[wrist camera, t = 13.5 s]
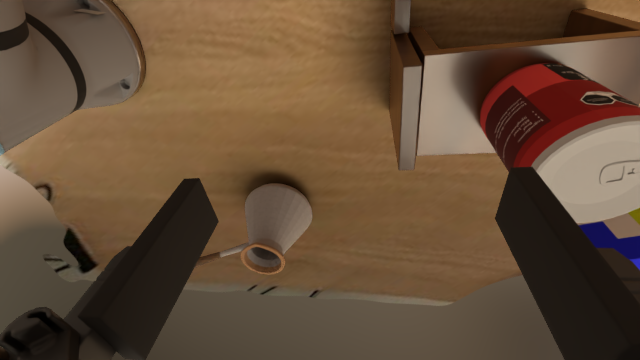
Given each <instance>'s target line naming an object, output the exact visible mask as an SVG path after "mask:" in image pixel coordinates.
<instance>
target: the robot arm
mask: <svg viewBox="0 0 640 360" xmlns="http://www.w3.org/2000/svg"><path fill="white" fill-rule="evenodd" d="M145 71H146V65H145V57H144V53H143V49H142V46H141V44H140V41H139V39H138V37H137V35H136V33H135V31H134V29H133V27H132V26H131V24H130V23H129V21H128V20H127V19H126V17H125V16H124V15H123V14H122V12H121V11H120V10H119V9H118V8H117V7H116V6H115V5H114V4H113V3H112V2H111V1H110V0H0V156H1V155H2V154H3V153H4V152H6V151H8V150H9V149H11V148H13V147H15V146H16V145H18V144H20V143H21V142H23V141H25V140H26V139H28V138H30V137H32V136H33V135H35V134H37V133H38V132H40V131H42V130H44V129H45V128H47V127H49V126H50V125H52V124H54V123H55V122H57V121H59V120H61V119H62V118H64V117H66V116H67V115H69V114H71V113H73V112H74V111H76V110H79V109H87V108H95V107H102V106H110V105H115V104H118V103H121V102H123V101H125V100H127V99H128V98H130V97H132V96H133V95H134V94H136V93H137V92H138V91H139V89H140V88H141V86H142V84H143V81H144V78H145ZM495 220H496V222H497V224H498V226H499V228H500V230H501V232H502V234H503V236H504V238H505V240H506V242H507V244H508V246H509V248H510V250H511V252H512V254H513V256H514V258H515V260H516V262H517V264H518V266H519V268H520V270H521V272H522V274H523V276H524V278H525V280H526V282H527V284H528V286H529V289H530V290H531V292H532V295H533V297H534V299H535V300H536V303H537V305H538V307H539V309H540V311H541V313H542V315H543V317H544V319H545V321H546V323H547V325H548V327H549V329H550V331H551V333H552V335H553V337H554V339H555V341H556V343H557V345H558V347H559V349H560V351H561V353H562V355H563V357H564V359H565V360H640V270H639V269H638V268H637V267H636V265H635V264H634V263H633V262H632V261H630V260H629V259H628V258H626V257H625V256H623V255H622V254H621V253H619V252H618V251H616V250H615V249H613V248H596V247H595V246H594V245H593V243H592V242H591V241H590V240H589V238H588V237H587V236H586V234H585V233H584V232H583V231H582V229H581V228H580V227H579V226H578V224H577V223H576V222H575V220H574V219H573V218H572V217H571V215H570V214H569V213H568V211H567V210H566V209H565V208H564V206H563V205H562V204H561V203H560V201H559V200H558V199H557V197H556V196H555V195H554V194H553V192H552V191H551V190H550V188H549V187H548V186H547V185H546V183H545V182H544V181H543V180H542V178H541V177H540V176H539V174H538V173H537V172H536V171H535V169H534V168H533V167H511V168H510V171H509V175H508V178H507V181H506V184H505V188H504V191H503V194H502V197H501V201H500V204H499V207H498V210H497V214H496V217H495ZM218 222H219V221H218V219H217V217H216V214H215V212H214V210H213V208H212V205H211V203H210V201H209V199H208V196H207V194H206V192H205V190H204V188H203V185H202V183H201V181H200V179H199V178H193V179H184V180H183V181H182V182H181V183H180V185H179V186H178V187H177V189H176V190H175V191H174V192H173V194H172V195H171V196H170V198H169V199H168V200H167V201H166V203H165V204H164V205H163V207H162V208H161V209H160V210H159V212H158V213H157V214H156V216H155V217H154V218H153V219H152V221H151V222H150V223H149V225H148V226H147V227H146V229H145V230H144V231H143V232H142V234H141V235H140V236H139V238H138V239H137V240H136V241H135V243H134V244H133V245H132V246H127V247H126V248H124V249H123V250H122V251H121V252H119V253H118V254H117V255H116V256H114V258H113V259H112V260H111V261H110V262H109V264H108V265H107V266H106V267H105V270H104V271H102V272H101V274H100V275H99V276H98V277H97V280H96V281H94V282H93V284H92V285H91V286H90V287H89V289H88V290H87V291H86V292H85V293H84V295H83V296H82V297H81V299H80V300H79V301H78V302H77V303H76V305H75V306H74V307H73V308H72V310H71V311H70V312H69V314H68V315H67V316H66V317H65V318H64V319H62V318H60V317H59V316H58V315H57V314H56V313H55V312H53V311H52V310H51V309H49V308H47V307H39V308H36V309H33V310H30V311H28V312H26V313H24V314H23V315H21V316H19V317H18V318H16V319H15V320H14V321H13V322H12V323H11V324H9V325H8V326H7V327H6V329H5V330H4V331H3V332H2V333H1V334H0V346H1V347H0V360H111V359H112V357H113V355H114V354H115V352H116V351H117V352H118V353H119V354H120V355H121V356H122V357H124V358H125V359H132V360H146V358H147V356H148V354H149V352H150V350H151V348H152V347H153V345H154V343H155V341H156V339H157V337H158V335H159V333H160V331H161V329H162V327H163V326H164V324H165V322H166V320H167V318H168V316H169V314H170V312H171V311H172V308H173V307H174V305H175V303H176V301H177V299H178V297H179V295H180V293H181V292H182V290H183V288H184V286H185V284H186V282H187V280H188V278H189V276H190V275H191V273H192V271H193V269H194V267H195V265H196V263H197V261H198V259H199V258H200V256H201V254H202V252H203V250H204V248H205V246H206V244H207V242H208V240H209V239H210V237H211V235H212V233H213V231H214V229H215V227H216V225H217V223H218ZM2 347H3V348H2Z"/></svg>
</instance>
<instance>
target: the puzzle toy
mask: <svg viewBox="0 0 640 360" xmlns="http://www.w3.org/2000/svg"><path fill="white" fill-rule="evenodd" d="M577 224H578V226H579V227H580V228H581V229H582V231H583V232H584V233H585V234H586V236H587V237H588V238H589V240H590V241H591V242H592V243H593V245H594V246H595V247H596V248H613V249H615V250H616V251H618V252H619V253H621V254H622V255H623V256H625V257H626V258H628V259H629V260H630V261H632V262H633V263H634V264H635V265H636V267H637V268H638V269H639V270H640V208H637V209H635V210H633V211H630V212H628V213H626V214H623V215H620V216H617V217H613V218H610V219H605V220H601V221H596V222H586V223H577Z"/></svg>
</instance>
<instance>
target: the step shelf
mask: <svg viewBox="0 0 640 360" xmlns="http://www.w3.org/2000/svg"><path fill="white" fill-rule="evenodd" d="M410 10H411V0H391V27H392V30H391V36H390V98H389V112H390V118H391V124H392V131H393V137H394V143H395V150H396V156H397V162H398V169H399V170H414V169H415V156H427V155H453V154H479V153H496V151H495V150H494V148H493V146H492V145H491V143H490V142H489V140H488V139H487V137H486V135H485V134H484V132H483V130H482V128H481V124H480V111H481V107H482V103H483V101H484V99H485V97H486V96H487V94H488V93H489V91H490V90H491V89H492V88H493V87H494V86H495V85H496V84H497V82H499V81H500V80H501V79H503V78H504V77H505V76H506V75H508V74H510V73H512V72H514V71H515V70H518V69H520V68H523V67H525V66H529V65H533V64H542V63H554V64H562V65H565V66H568V67H571V68H573V69H574V70H576V71H578V72H580V73H582V74H583V75H585V76H587V77H589V78H590V79H592V80H594V81H596V82H598V83H599V84H601V85H603V86H605V87H607V88H608V89H610V90H612V91H614V92H616V93H617V94H619V95H621V96H623V97H624V98H626V99H628V100H630V101H632V102H633V103H635V104H637V105H639V104H640V22H636V21H632V20H628V19H624V18H621V17H617V16H613V15H609V14H605V13H602V12H598V11H594V10H590V9H579V10H572V11H571V14H570V17H569V20H568V23H567V26H566V29H565V32H564V35H563V38H554V39H543V40H533V41H522V42H511V43H501V44H490V45H479V46H469V47H458V48H447V49H439V48H438V47H437V45H436V44H435V43H434V41H433V40H432V39H431V37H430V36H429V35H428V33H427V32H426V31H425V29H424V28H423V27H422V26H419V27H410ZM406 33H408V36H407V34H406Z"/></svg>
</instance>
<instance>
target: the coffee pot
mask: <svg viewBox="0 0 640 360" xmlns="http://www.w3.org/2000/svg"><path fill="white" fill-rule="evenodd" d="M245 214H246V222H247V230H248V238H249V242H248V243H245V244H242V245H239V246H236V247H234V248H231V249H228V250H225V251H222V252H218V253H214V254H210V255H207V256H203V257H200V258H199V259H198V261H197V263H196V265H195V267H194V268H196V267H198V266H201V265H203V264H206V263H209V262H211V261H214V260H216V259H219V258H221V257H223V256H227V255H230V254H233V253H236V252H240V251H242V252H241V259H242V262H243V263H244V265H245V266H247V267H248V268H249V269H251V270H252V271H255V272H257V273H261V274H275V273H278V272H280V271H281V270H282V269H283V268H284V267H285V258H284V257H283V254H284V253H285V252H286V251H287V250H288V249H289V248H290V247H291V246H292V245H293V243H294V242H295V241H296V240H297V239H298V238H299V237H300V236H301V235H302V234H303V233H304V232H305V230H306V229H307V228H308V227H309V225H310V224H311V220H312V209H311V207H310V204H309V202H308V200H307V199H306V197H305V196H304V195H303V194H302V193H301V192H299V191H298V190H297V189H295V188H293V187H290V186H288V185H284V184H279V183H270V184H265V185H262V186H260V187H258V188H256V189H254V190H253V191H252V192H251V193H250V194H249V195H248V197H247V199H246V201H245Z"/></svg>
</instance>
